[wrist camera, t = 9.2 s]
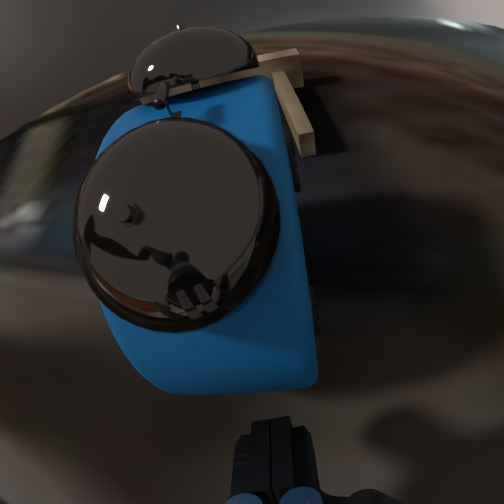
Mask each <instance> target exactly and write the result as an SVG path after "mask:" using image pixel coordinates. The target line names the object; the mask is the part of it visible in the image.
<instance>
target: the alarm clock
mask: <svg viewBox="0 0 504 504" xmlns="http://www.w3.org/2000/svg"><path fill="white" fill-rule="evenodd" d="M176 27H177V31H175V32H172V33H169V34H166V35H164V36H162V37H160V38H159V39H157V40H156V41H154V42H153V43H151V44H150V45H149V46H148V47H146V48H145V49H144V50H143V51H142V52H141V53H140V54H139V56H138V57H137V59H136V60H135V62H134V63H133V65H132V68H131V70H130V73H129V76H128V83H127V86H128V94H129V97H130V101H134V100H137V99H140V98H143V97H146V96H149V95H152V94H155V93H156V94H155V97H154V100H153V102H150V103H147V104H144V105H141V106H138V107H135V108H133V109H131V110H129V111H128V112H126V113H124V114H123V115H122V116H121V117H120V118H118V119H117V121H116V122H115V123H114V124H113V125H112V127H111V128H110V130H109V131H108V133H107V135H106V136H105V138H104V140H103V142H102V144H101V146H100V148H99V151H98V153H97V156H96V159H95V161H94V163H93V164H92V165H91V167H90V168H89V170H88V172H87V174H86V176H85V178H84V180H83V182H82V184H81V186H80V189H79V192H78V195H77V198H76V202H75V208H74V214H73V242H74V248H75V254H76V257H77V260H78V263H79V266H80V269H81V272H82V274H83V275H84V277H85V279H86V281H87V283H88V284H89V286H90V288H91V290H92V291H93V293H94V294H95V295H96V296H97V298H98V299H99V300H100V303H101V306H102V309H103V312H104V314H105V317H106V319H107V322H108V324H109V327H110V329H111V331H112V333H113V335H114V337H115V339H116V341H117V343H118V344H119V346H120V348H121V349H122V351H123V352H124V354H125V356H126V357H127V358H128V360H129V361H130V362H131V364H132V365H133V366H134V367H135V369H136V370H137V371H138V372H139V373H140V374H141V375H142V376H143V377H144V378H145V379H147V380H148V381H149V382H151V383H152V384H153V385H154V386H156V387H157V388H159V389H161V390H163V391H165V392H168V393H171V394H176V395H225V394H245V393H260V392H272V391H283V390H293V389H302V388H308V387H311V386H312V385H314V384H315V383H316V381H317V379H318V364H317V354H316V344H315V334H320V326H319V324H320V323H319V316H318V314H317V311H316V308H317V299H316V294H315V287H314V286H309V284H308V277H307V269H306V262H305V255H304V248H303V241H302V235H301V228H300V222H299V216H298V209H297V203H296V197H295V192H297V193H298V192H301V189H300V187H301V185H300V180H299V175H298V173H297V172H296V169H298V166H297V162H295V160H294V157H295V151H294V145H293V143H292V138H288V139H285V137H284V132H283V127H282V122H281V117H280V112H279V107H278V103H277V98H276V94H275V89H274V85H273V83H272V81H271V80H270V79H269V78H268V77H266V76H263V75H256V76H251V77H246V78H241V79H236V80H232V81H227V82H223V83H218V84H214V85H210V86H206V87H202V88H200V84H199V81H201V80H204V79H208V78H212V77H217V76H221V75H225V74H230V73H234V72H239V71H244V70H249V69H254V68H259V67H260V66H259V61H258V58H257V55H256V53H255V50H254V49H253V48H252V46H251V45H250V43H249V42H247V41H246V40H245V39H244V38H243V37H241V36H240V35H238V34H236V33H234V32H232V31H230V30H226V29H223V28H219V27H211V26H196V27H190V28H185V24H183V23H182V24H178V25H176ZM189 83H191V87H192V90H191V91H187V92H183V93H180V94H176V95H173V96H169V97H168V95H169V91H170V89H172V88H175V87H179V86H182V85H186V84H189Z"/></svg>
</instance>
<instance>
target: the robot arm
mask: <svg viewBox="0 0 504 504" xmlns="http://www.w3.org/2000/svg"><path fill="white" fill-rule="evenodd" d="M234 456H235V457H234V465H233V473H232V483H231V493H230V497H229V499H228V500H227V502H226V503H225V504H404V503H402V502H400V501H398V500H396V499H394V498H392V497H390V496H388V495H386V494H384V493H382V492H380V491H377V490H374V489H364V490H360V491H358V492H355V493H354V494H352V495H351V496H350V497H336V496H331V495H328V494H326V493H324V492H323V491H322V490H321V489H320V486H319V479H318V473H317V466H316V459H315V453H314V448H313V443H312V438H311V434H310V432H309V431H308V430H307V429H306V428H305V426H299V427H294V428H292V424H291V420H290V417H289V416H286V417H280V418H274V419H271V420H270V419H268V420H261V421H254V422H252V425H251V434H248V435H241V436H240V438H239V440H238V441H237V443H236V445H235V453H234Z"/></svg>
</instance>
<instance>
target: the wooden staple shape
mask: <svg viewBox="0 0 504 504" xmlns="http://www.w3.org/2000/svg"><path fill="white" fill-rule="evenodd" d="M257 58H258V61H259V66H260V67H259V68H254V69H249V70H244V71H239V72H234V73H230V74H225V75H221V76H217V77H212V78H208V79H204V80H201V81H199V84H200V88H202V87H206V86H210V85H214V84H218V83H223V82H227V81H232V80H236V79H241V78H246V77H251V76H256V75H263V76H266V77H268V78H269V79H270V80H271V81H272V83H273V85H274V89H275V92H276V94H277V97H278V99H279V102H280V104H281V107H282V109H283V112H284V114H285V117H286V119H287V122H288V124H289V127H290V129H291V132H292V134H293V137H294V140H295V142H296V145H297V148H298V150H299V153H300V156H301V158H304V157H308V156H313V155H316V150H315V138H314V131H313V128H312V126H311V124H310V122H309V120H308V118H307V116H306V114H305V111H304V109H303V107H302V105H301V103H300V101H299V99H298V97H297V95H296V93H295V91H294V88H299V87H304V82H303V75H302V68H301V61H300V54H299V52H298V51H297V50H296V48H294V49H288V50H283V51H278V52H273V53H268V54H263V55H258V56H257ZM191 90H192V87H191V83H189V84H186V85H182V86H179V87H175V88H172V89H170V91H169V95H168V97H169V96H173V95H176V94H180V93H183V92H187V91H191ZM155 94H156V93H155ZM155 94H152V95H149V96H146V97H143V98H140V100H141V101H142V103H143V105H144V104H147V103H150V102H153V100H154V97H155Z"/></svg>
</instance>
